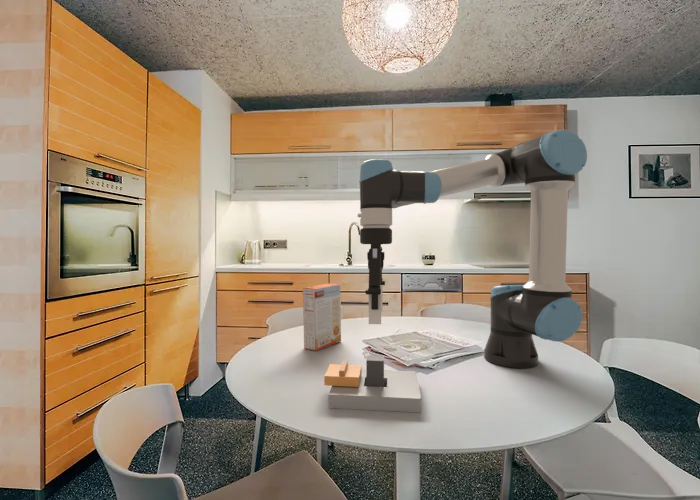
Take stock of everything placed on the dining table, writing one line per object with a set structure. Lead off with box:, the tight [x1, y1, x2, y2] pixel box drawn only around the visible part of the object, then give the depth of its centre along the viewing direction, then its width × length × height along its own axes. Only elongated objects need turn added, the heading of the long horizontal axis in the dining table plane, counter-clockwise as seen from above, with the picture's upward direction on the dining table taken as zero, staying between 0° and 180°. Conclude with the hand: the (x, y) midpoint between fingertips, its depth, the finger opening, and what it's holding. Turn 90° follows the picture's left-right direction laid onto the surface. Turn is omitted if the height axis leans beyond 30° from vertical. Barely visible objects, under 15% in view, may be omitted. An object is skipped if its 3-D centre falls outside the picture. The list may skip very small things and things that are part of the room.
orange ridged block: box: [323, 359, 363, 387], centre depth 88 cm, size 8×8×3 cm
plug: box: [365, 354, 385, 387], centre depth 86 cm, size 4×4×9 cm
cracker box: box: [302, 282, 342, 352], centre depth 126 cm, size 14×6×21 cm, turn 144°
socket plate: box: [328, 368, 422, 414], centre depth 87 cm, size 20×16×3 cm
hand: (376, 317), depth 86 cm, fingers open, 13 cm apart
